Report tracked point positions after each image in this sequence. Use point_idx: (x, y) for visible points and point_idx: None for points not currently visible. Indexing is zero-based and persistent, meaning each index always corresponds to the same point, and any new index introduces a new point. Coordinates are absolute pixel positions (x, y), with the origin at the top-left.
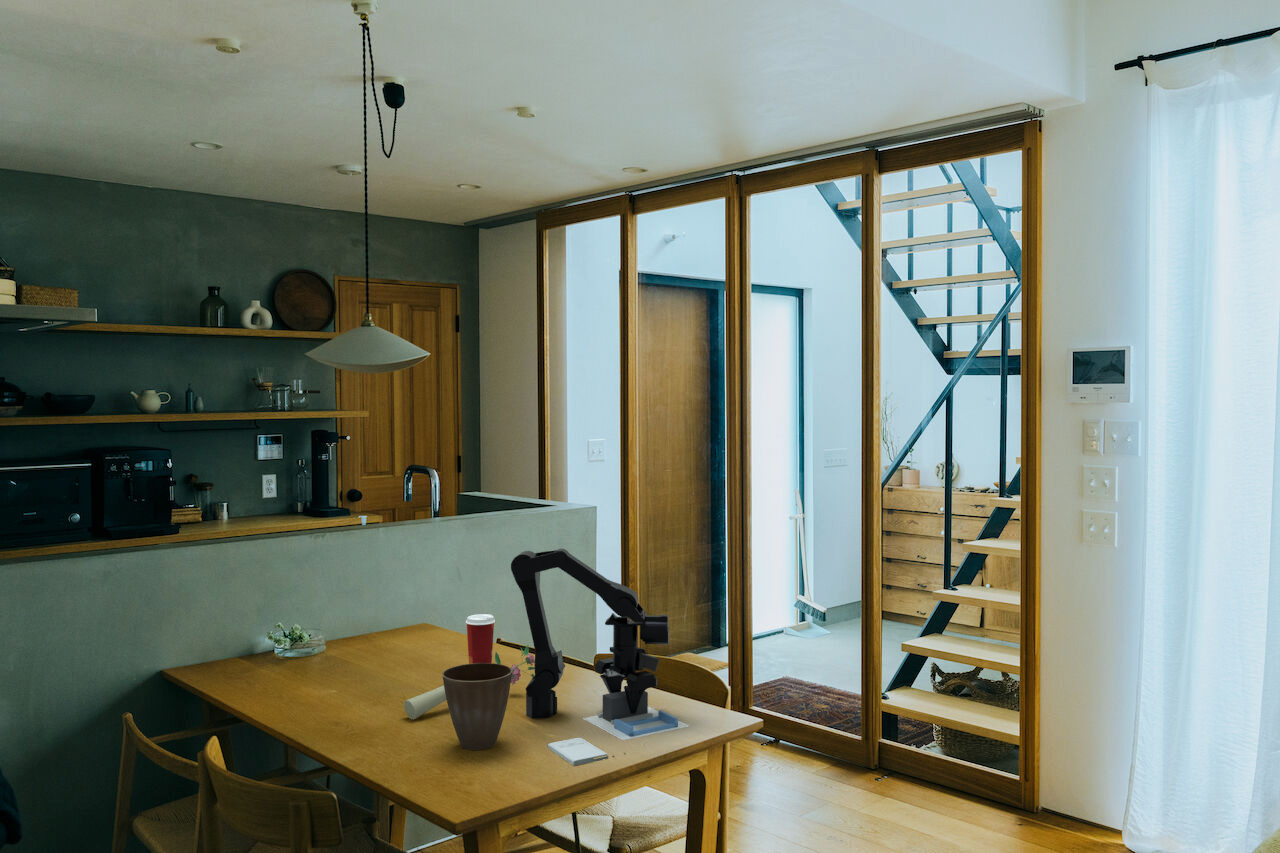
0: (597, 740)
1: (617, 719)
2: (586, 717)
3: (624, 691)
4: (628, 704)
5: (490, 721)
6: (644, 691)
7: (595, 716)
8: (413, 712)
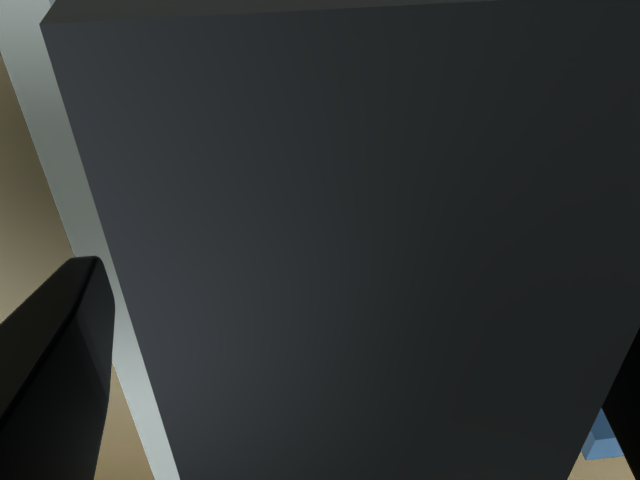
0: (581, 471)
1: (611, 444)
2: (151, 464)
3: (223, 471)
4: (617, 421)
5: None
6: (607, 43)
7: (153, 411)
8: None
